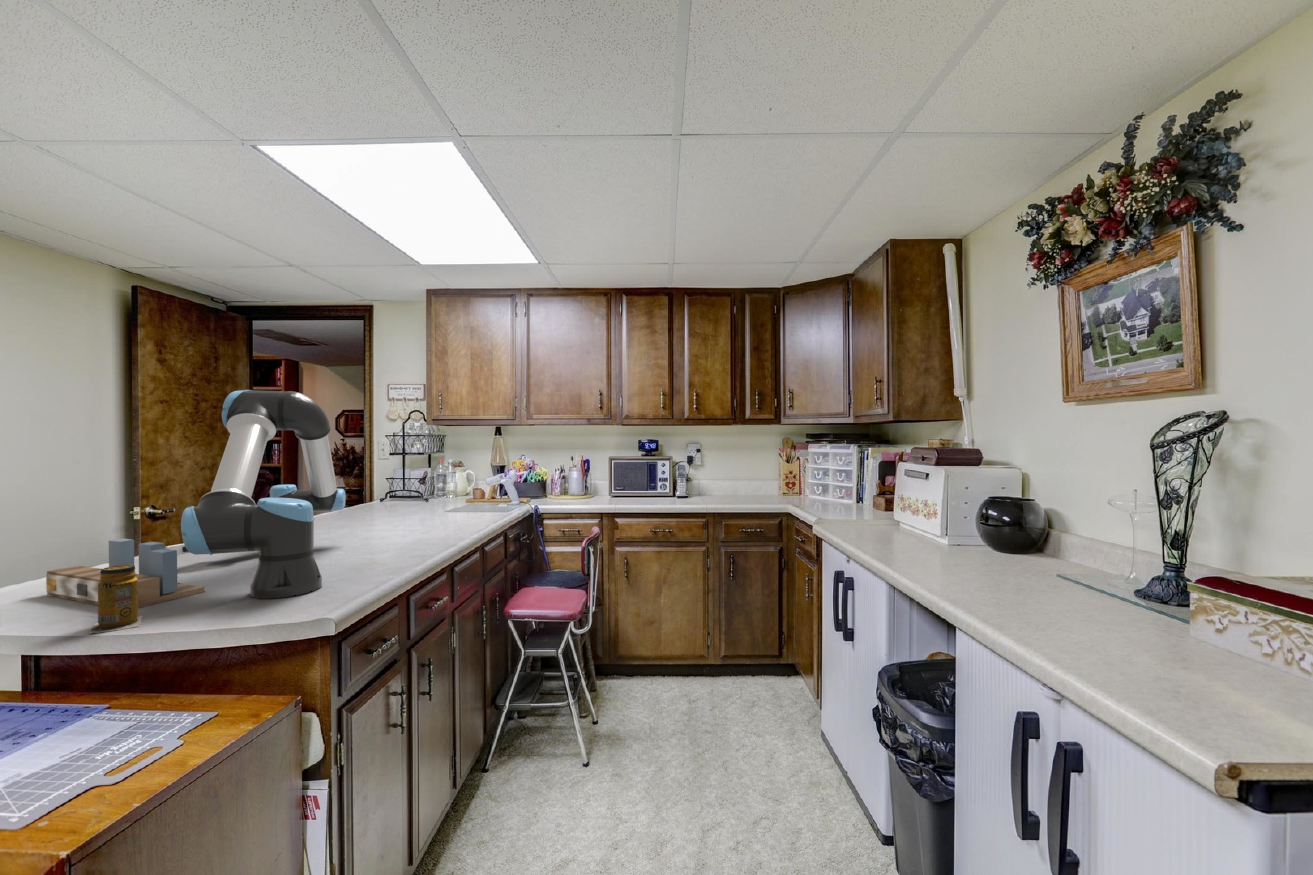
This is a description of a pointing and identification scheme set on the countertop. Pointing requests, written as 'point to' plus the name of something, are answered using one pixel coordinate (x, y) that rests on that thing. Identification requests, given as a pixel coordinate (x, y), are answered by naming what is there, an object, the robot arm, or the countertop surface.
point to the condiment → (117, 599)
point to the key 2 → (164, 569)
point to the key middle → (147, 555)
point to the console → (85, 580)
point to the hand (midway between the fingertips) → (167, 551)
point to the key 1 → (121, 552)
